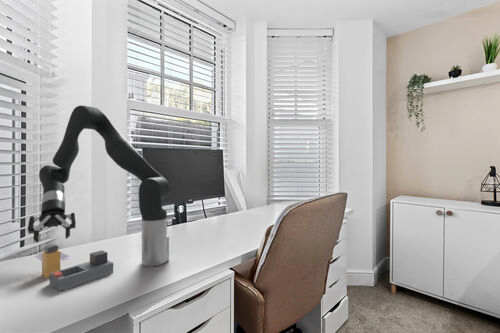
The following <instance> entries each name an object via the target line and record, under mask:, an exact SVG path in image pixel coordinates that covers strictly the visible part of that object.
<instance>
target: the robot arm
mask: <svg viewBox="0 0 500 333" xmlns="http://www.w3.org/2000/svg"><path fill="white" fill-rule="evenodd" d="M67 122H68V123H67V126H66V128H65V132H64V135H63V139H62V140H61V143H60V145H59V147H58V149H57V150H56V152H55V154H54V156H53V158H52V163H53V164H54V165H55V166H53V165H49V164H48V165H44V166H42V167H41V169H39V173H38V176H39V180H40V183H41V185H42V186H41V187H42V189H43V191H42V192H43V194H42V198H41V199H42V200H41V210H40V215H39V217H34V215H32V216H29V219H28V225H27V234H30V235H31V234H33V242H35V243H39V242H40V240H39V239H40V233H41V232H42V231H44V230H45V229H46V228H53V227H61V228H63V229H65V239H66V240H67V239H68V238H69V237H70V236H71V229H76V223H77V222H76V217H75V216H76V215H75V212H71V213H70V214H66V198H65V185H64V184H65V183H67V182H68V181H69V179H70V172H71V168H72V165H73V163H74V162H75V160H76V158H77V156H78V154H79V150H80V146H79V137H80V134H81V133H82V131H83V130H94V131H96V133H98V134H99V135H100V137H102V139H103V140H104V146H105V147H104V148H105V151H106V154H107V155H108V156H109V158H110V159H112V160H113V161H112V162H114V163H115V164H116V165H117V166H119V168H121V169H122V170H125V172H128V173H129V174H131V175H133V176H135V177H136V178H137V179H139V180H140V181H141V183H140V184H139V188H138V207H139V209H138V210H139V213H140V214H141V215H140V216H141V265H142V266H144V267H158V266H162V265H164V264H165V263H166V262H167V261H169V260H170V236H168V212H167V210H166V209H163V206H162V200H165V199H167V198H168V197H169V196H170V194H171V190H172V189H171V185H170V182H169V181H168V180H167V179H166V178H165V177H164V176H163V175H162V174H161V173H159V172H158V171H157V170H156V169H154V168H153V167H152V165H150V164H149V163H148V161H147V160H146V159H145V158H144V157H143V156H142V155H141V154H140V153H139V151H137V149H136V148H135V147H134V146H133V145H132V144H131V143H130V142H129V141H128V140H127V138H125V137H124V136H123V135H122V134H121V132H120V131H119V130H118V129H117V128H116V127H115V125H113V123H112V122H111V120H110V118H109V117H108V115H106V114H105V112H104V111H103V110H101V109H99V108H97V107H93V106H88V105H87V106H86V105H78V106H76V107H74V108H73V110H72V111H71V113H70V117H69V119H68V121H67ZM67 219H68V220H69V221H70V222H71V223H70V224H69V222H67V221H66V220H67ZM37 222H39V223H38V225H37V226H35V224H37ZM34 226H35V227H34Z"/></svg>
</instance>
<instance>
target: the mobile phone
mask: <svg viewBox="0 0 500 333" xmlns="http://www.w3.org/2000/svg"><path fill="white" fill-rule="evenodd" d="M35 257H36V258H38V259H40V260H41V259H42V252H41V253H38V254H36V255H35ZM67 258H69V259H70V258H71V256H69V255H68V254H66V253H64V252H61V251H60V260H61V261H64V259H65V260H68V259H67Z"/></svg>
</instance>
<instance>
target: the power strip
mask: <svg viewBox="0 0 500 333" xmlns="http://www.w3.org/2000/svg"><path fill="white" fill-rule="evenodd" d="M110 274H114V262H113V261H109V260H108V251H104V250H98V251H95V252H91V253H89V261H87V262H84V263H83V262H82V263H79V264H77V265H73V266H70V267H65V268H63V269H60V270H59V271H56V272H52V273H50V277H49V285H51V287H52V288H54V289H56V290H58V291H59V290H60V292H61V290H62V291H64V289H65V290H67V288H68V289H70V288H73V287H76V286H78V284H79V285H81V283H82V284H84V283H87V282H89V281H93V280H96V279H100V278H102V277H105V276H107V275H110ZM75 285H76V286H75ZM72 286H73V287H72Z"/></svg>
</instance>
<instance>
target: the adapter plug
mask: <svg viewBox="0 0 500 333" xmlns="http://www.w3.org/2000/svg"><path fill="white" fill-rule="evenodd" d="M58 247H59V246H58V245H57V244H55V243H54V244H48V245H46V246H44V251H42V252H41V253H42V260H41V276H42V275H43V276H42V277H44V278H45V277H46V278H45V279H49V278H50V273H52V272H56V271H59V270H61V261H60V252H61V250H59V248H58ZM48 277H49V278H48Z"/></svg>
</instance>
